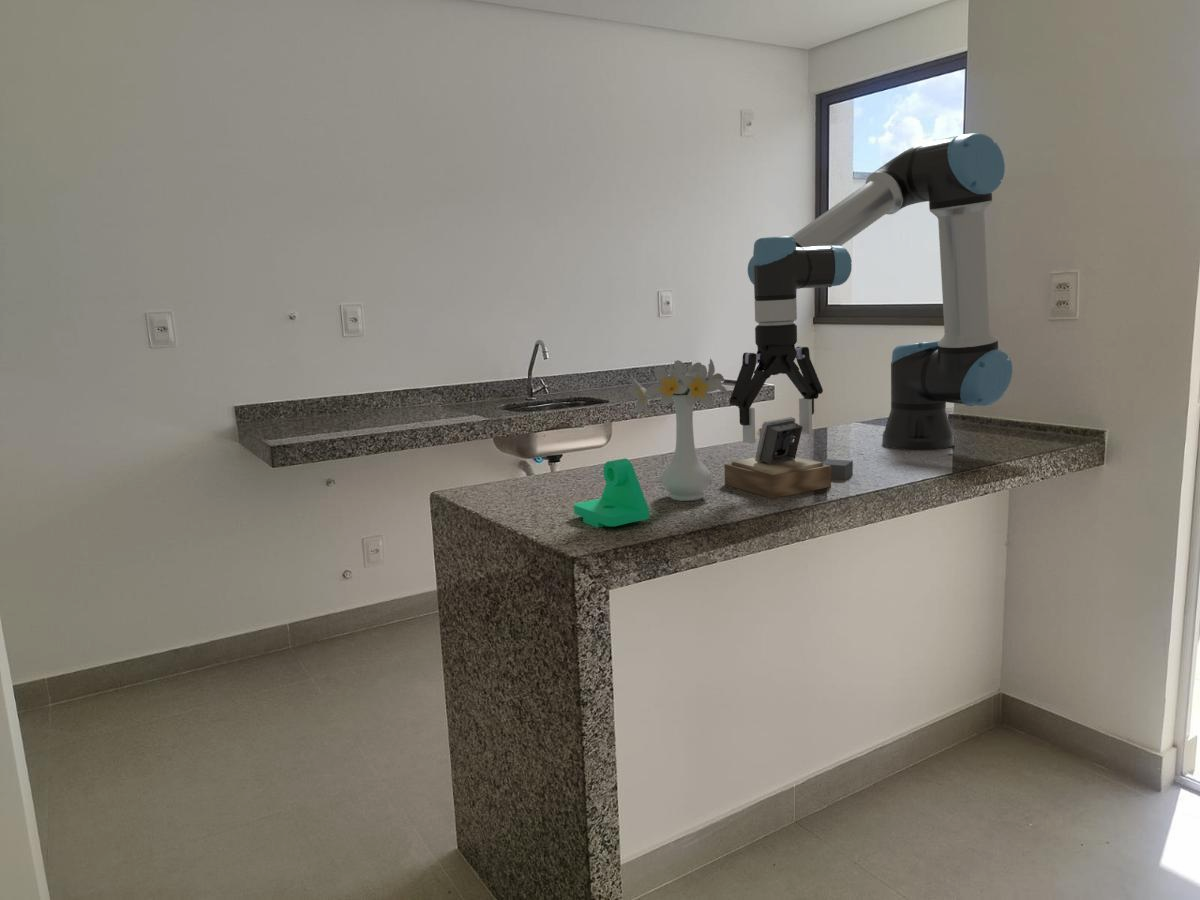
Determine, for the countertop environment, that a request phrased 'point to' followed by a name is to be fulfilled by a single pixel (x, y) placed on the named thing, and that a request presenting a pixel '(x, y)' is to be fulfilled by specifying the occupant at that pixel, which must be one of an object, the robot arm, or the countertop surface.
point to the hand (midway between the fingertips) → (778, 437)
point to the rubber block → (840, 468)
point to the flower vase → (683, 423)
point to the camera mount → (616, 498)
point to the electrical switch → (778, 441)
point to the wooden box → (778, 476)
